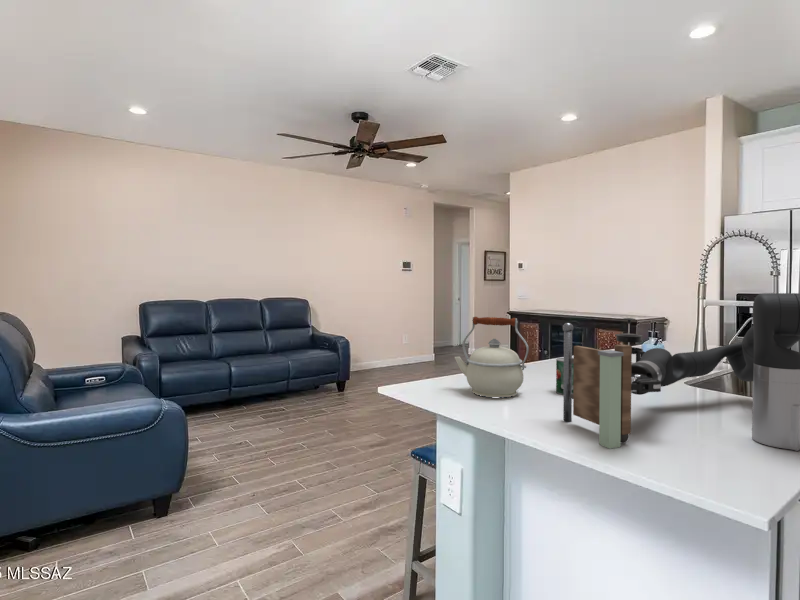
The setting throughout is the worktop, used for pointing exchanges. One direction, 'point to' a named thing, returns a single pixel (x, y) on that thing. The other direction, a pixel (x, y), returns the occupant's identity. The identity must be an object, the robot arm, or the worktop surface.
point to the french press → (631, 340)
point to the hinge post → (567, 372)
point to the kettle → (493, 364)
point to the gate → (589, 386)
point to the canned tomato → (561, 376)
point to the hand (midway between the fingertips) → (620, 389)
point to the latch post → (610, 398)
